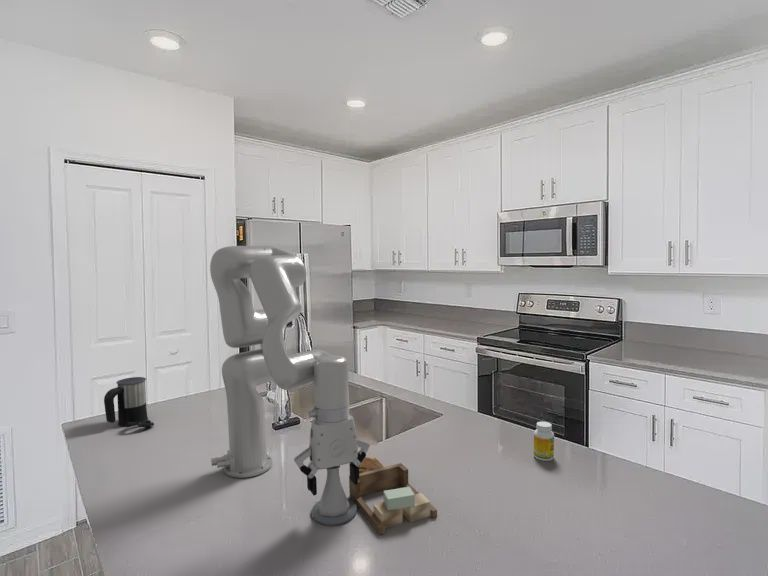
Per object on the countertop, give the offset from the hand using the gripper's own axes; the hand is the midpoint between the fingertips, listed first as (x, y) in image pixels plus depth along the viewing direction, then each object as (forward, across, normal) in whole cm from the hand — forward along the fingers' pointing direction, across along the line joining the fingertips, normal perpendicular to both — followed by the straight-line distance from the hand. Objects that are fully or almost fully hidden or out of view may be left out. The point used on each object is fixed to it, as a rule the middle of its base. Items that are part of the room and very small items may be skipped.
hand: (333, 486), depth 100 cm
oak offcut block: (+6, +9, -8) cm, 14 cm away
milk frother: (+6, -42, +81) cm, 91 cm away
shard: (+7, +17, +15) cm, 23 cm away
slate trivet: (+6, 0, 0) cm, 6 cm away
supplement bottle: (+6, +62, -2) cm, 62 cm away
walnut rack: (+6, +12, -4) cm, 14 cm away
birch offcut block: (+6, +16, -9) cm, 19 cm away
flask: (+5, 0, 0) cm, 5 cm away
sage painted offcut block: (+3, +12, -9) cm, 15 cm away
